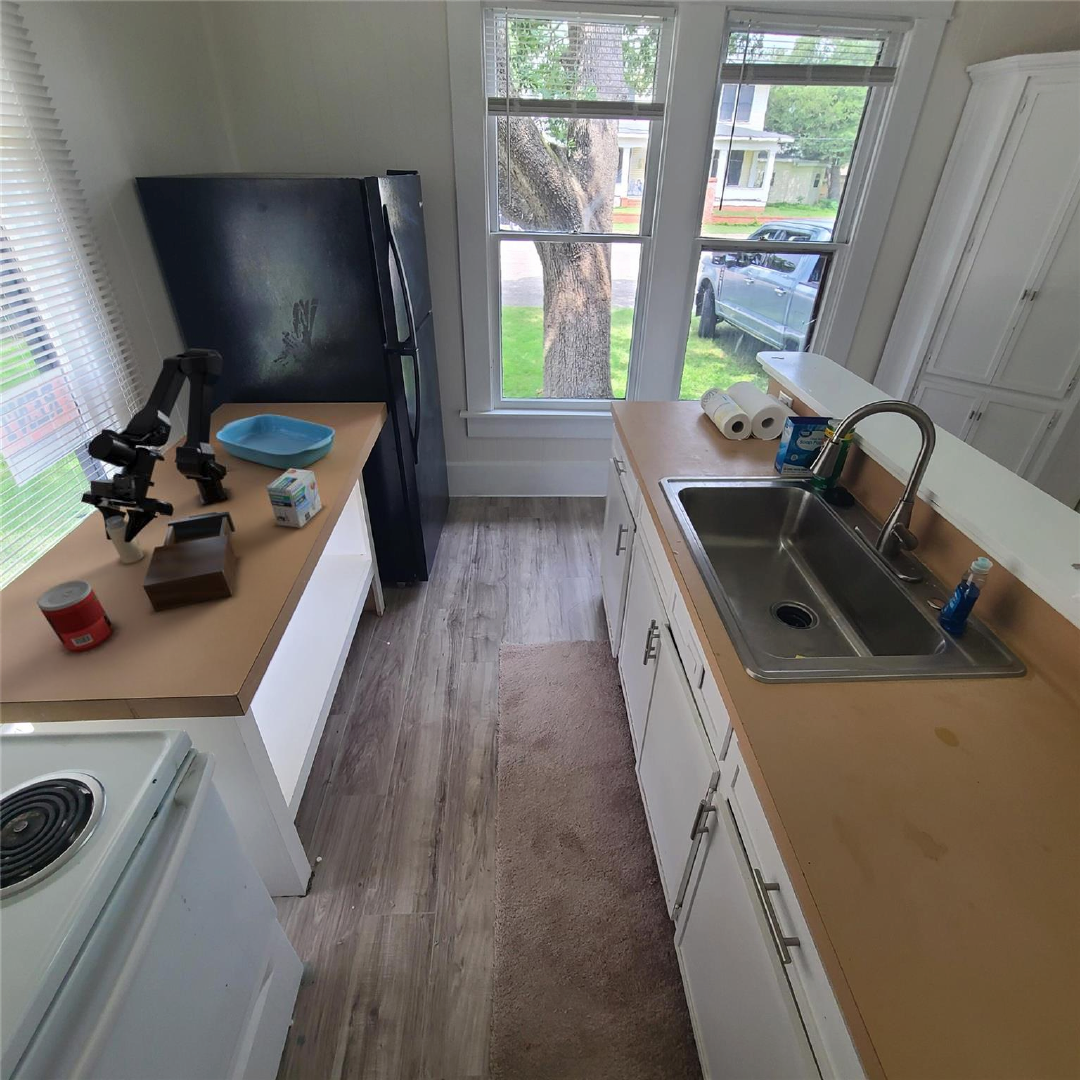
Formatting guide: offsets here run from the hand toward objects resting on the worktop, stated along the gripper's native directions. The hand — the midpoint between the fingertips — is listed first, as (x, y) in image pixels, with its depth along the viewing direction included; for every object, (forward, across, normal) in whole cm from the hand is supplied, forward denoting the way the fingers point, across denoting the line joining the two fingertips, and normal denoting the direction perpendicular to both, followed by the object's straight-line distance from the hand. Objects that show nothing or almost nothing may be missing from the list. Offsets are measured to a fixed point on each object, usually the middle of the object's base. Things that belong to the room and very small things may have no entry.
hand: (118, 541), depth 127 cm
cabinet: (+7, +21, +1) cm, 22 cm away
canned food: (+20, +12, -12) cm, 26 cm away
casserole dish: (-36, +2, +45) cm, 58 cm away
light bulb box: (-14, +28, +22) cm, 38 cm away
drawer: (-3, +13, +9) cm, 16 cm away
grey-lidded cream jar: (+3, 0, +5) cm, 6 cm away
